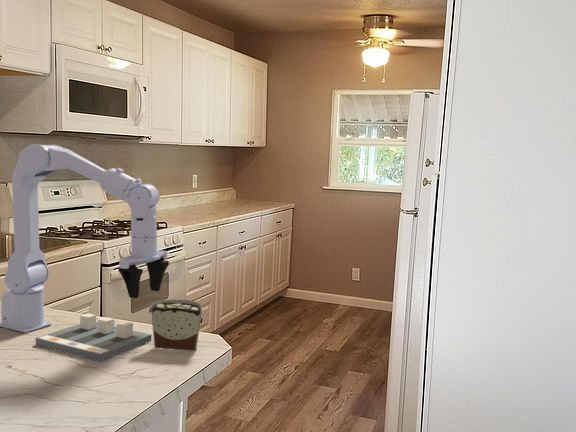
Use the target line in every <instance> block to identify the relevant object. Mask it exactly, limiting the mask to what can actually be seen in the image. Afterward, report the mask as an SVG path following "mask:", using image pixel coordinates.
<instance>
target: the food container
mask: <svg viewBox="0 0 576 432" xmlns="http://www.w3.org/2000/svg"><path fill="white" fill-rule="evenodd" d="M150 313H151V322H152V335H153V336H152V337H153V347H154V349H156V348H163V349H162V350H168V349H173V350H172V351H181V350H182V352H183V351H184V352H194V353H195V352H196V351H197V349H198V341H199V333H200V326H201V318H204V317H205V312H204V308H203V305H202V304H201V303H199V302H197V301H194V300H187V299H163V300H158V301H155V302H153V303H151V304H150V306H149V309H148V314H150Z"/></svg>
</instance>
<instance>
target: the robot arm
mask: <svg viewBox="0 0 576 432" xmlns="http://www.w3.org/2000/svg"><path fill="white" fill-rule="evenodd" d="M62 169H63V170H64V169H68V170H71V171H73V172H75V173H77V174H79V175H82V176H84V177H86V178H87V179H90V180H93V181H95V182H97V183H98V184H99V186H100V189H101V191H103V192H105V193H107V194H108V195H111V196H113V197H115V198H117V199H119V200H121V201H123V202H124V203H127V206H128V207H129V208H130V213H131V214H130V216H131V217H130V223H131V224H130V228H131V229H130V231H131V235H130V237H131V238H130V239H131V240H130V243H131V244H130V246H131V247H130V248H131V249H130V250H131V254H130V255H128V256H126V257H123V258H119V260H118V261H119V266H118V267H117V268H118V272H119V274H120V275H121V277H122V279H123V281H124V283H125V286H126V289H127V293H128V297H129V298H131V299H138V298H139V295H140V282H141V277H142V273H143V271H144V269H143V268H138V267H137V266H140V265H144V264H145V265H146V267H147V271H148V278H149V289H150V291H154V292H160V289H161V285H162V282H163V279H164V275H165V273H166V270H167V268H168V267H169V266H170V265H169V264H170V261H169V260H168V251H167V250H157V249H158V248H157V247H158V244H157V243H158V242H157V241H158V237H157V236H158V235H157V224H158V223H157V222H158V221H157V218H158V217H157V205H158V204H159V201H160V198H161V197H160V191H159V189H158V188H157V187H155V186H154V185H153V184H152V183H147V182H146V183H143V181H142V179H140V178H139V177H138V178H134V177H131V176H130V175H127V174H126V173H125V170H124V169H122V168H119V167H117V168H109V169H104V168H102V167H101V166H99V165H97V164H96V163H94V162H92V161H90V160H89V159H86V158H85V157H83V156H82V155H79V154H78V153H76V152H74V151H72V150H71V149H68V148H65V147H62V146H61V145H59V144H38V143H31V144H29V145H28V146H25V148H23V149H22V150H21V151H20V152H19V153H18V162H17V164H16V166H15V169H14V170H13V173H12V174H11V175H12V176H11V186H12V213H13V214H12V216H13V217H12V218H13V219H12V220H13V243H14V248H13V249H14V251H13V253H11V256H10V257H9V259H7V260H8V261H7V270H6V272H5V274H4V283H5V286H6V287H7V289H6V290H5V291H4V292H3V294H2V297H1V301H0V302H1V303H0V307H1V308H0V313H1V315H0V318H1V320H0V327H2V328H5V329H10V330H14V331H17V332H22V333H28V332H31V331H35V330H39V329H41V328H46V327H48V326H49V327H50V326H51V325H52V324H53V322H50V321H46V320H44V319H45V318H44V317H45V316H44V315H45V313H44V312H45V309H44V307H45V305H44V304H45V301H44V299H45V295H44V294H45V293H44V291H45V283H46V282H47V281H48V279H49V276H50V269H49V267H48V264H47V262H46V255H45V253H44V252H42V250H41V249H40V226H39V225H40V221H39V197H38V196H39V194H38V192H39V191H38V190H39V189H38V185H39V184H40V183H41V182H42V181H43V180H44V179H45V178H46V177H47V176H49V175H52V174H53V173H56V172H58V171H61V170H62Z"/></svg>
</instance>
